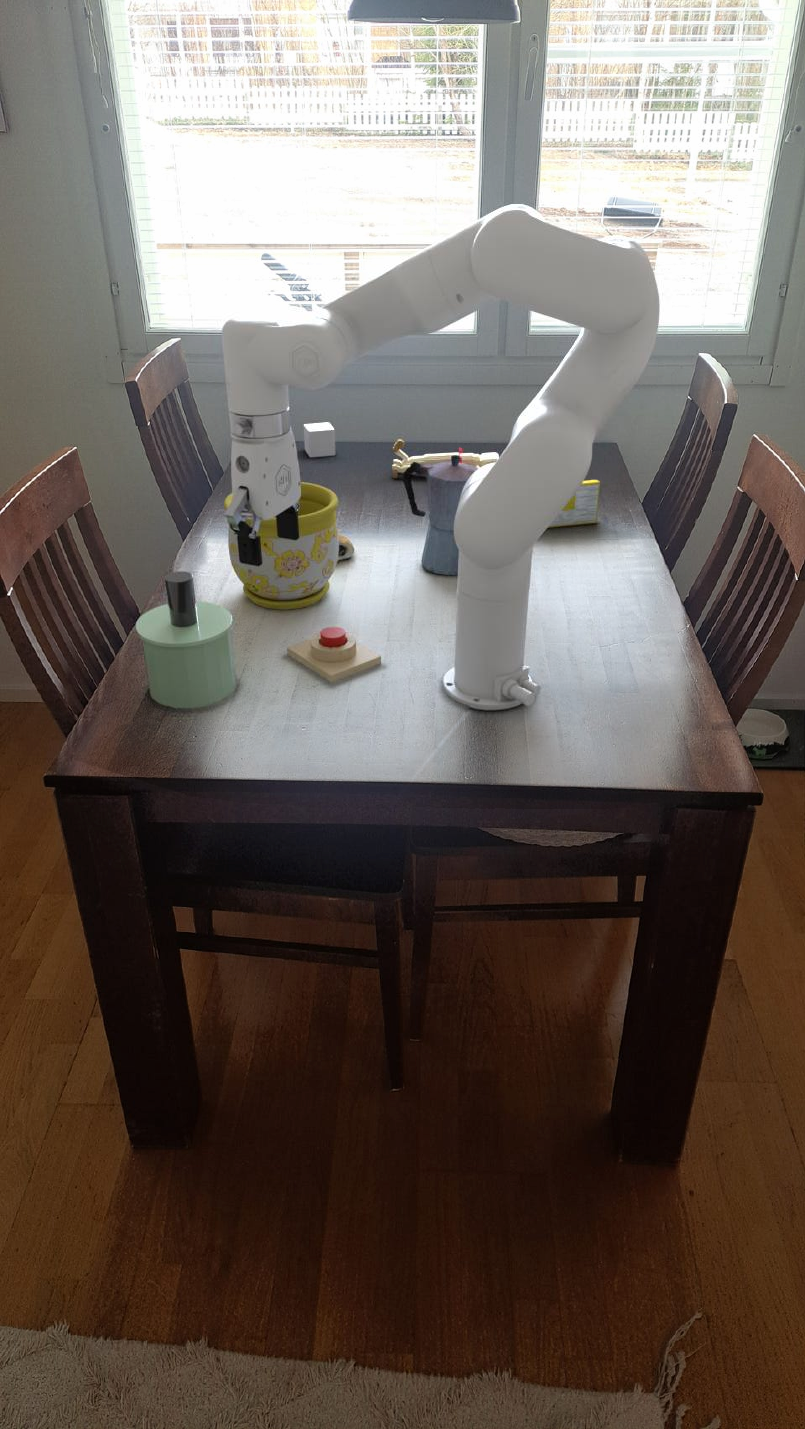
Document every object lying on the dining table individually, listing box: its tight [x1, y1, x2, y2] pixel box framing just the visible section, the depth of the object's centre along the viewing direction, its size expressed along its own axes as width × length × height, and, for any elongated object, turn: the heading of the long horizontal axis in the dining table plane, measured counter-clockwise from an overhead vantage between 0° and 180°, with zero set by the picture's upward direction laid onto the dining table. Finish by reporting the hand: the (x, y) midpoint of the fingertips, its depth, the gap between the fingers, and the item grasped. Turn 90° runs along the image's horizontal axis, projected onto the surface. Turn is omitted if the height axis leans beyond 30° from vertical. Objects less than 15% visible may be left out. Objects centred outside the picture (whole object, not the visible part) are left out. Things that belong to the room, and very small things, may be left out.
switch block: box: [286, 631, 382, 683], centre depth 147 cm, size 11×9×4 cm
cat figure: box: [391, 439, 500, 479], centre depth 218 cm, size 10×9×25 cm
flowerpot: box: [223, 481, 339, 611], centre depth 164 cm, size 18×18×16 cm
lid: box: [135, 570, 234, 647], centre depth 134 cm, size 13×13×8 cm
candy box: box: [547, 479, 601, 529], centre depth 193 cm, size 16×2×8 cm, turn 105°
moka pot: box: [402, 455, 479, 576], centre depth 173 cm, size 10×15×20 cm, turn 78°
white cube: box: [303, 422, 336, 458], centre depth 233 cm, size 6×6×6 cm
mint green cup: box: [140, 628, 237, 709], centre depth 138 cm, size 12×12×10 cm
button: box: [319, 626, 346, 648], centre depth 146 cm, size 4×4×2 cm
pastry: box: [337, 533, 355, 562], centre depth 182 cm, size 9×7×4 cm
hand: (270, 550), depth 135 cm, fingers open, 9 cm apart
